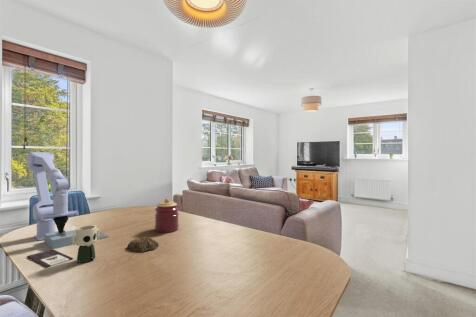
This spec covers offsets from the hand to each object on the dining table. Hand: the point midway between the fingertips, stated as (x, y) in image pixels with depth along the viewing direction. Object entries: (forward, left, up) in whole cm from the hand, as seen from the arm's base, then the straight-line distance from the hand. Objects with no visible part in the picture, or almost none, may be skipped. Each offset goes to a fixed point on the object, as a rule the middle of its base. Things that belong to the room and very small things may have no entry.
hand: (60, 232), depth 118 cm
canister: (+19, +46, -5) cm, 50 cm away
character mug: (+31, +1, -5) cm, 31 cm away
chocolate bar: (+18, -8, -6) cm, 20 cm away
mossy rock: (+35, +23, -5) cm, 42 cm away
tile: (0, +4, -1) cm, 4 cm away
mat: (0, +13, -5) cm, 14 cm away
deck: (0, +1, -5) cm, 5 cm away
